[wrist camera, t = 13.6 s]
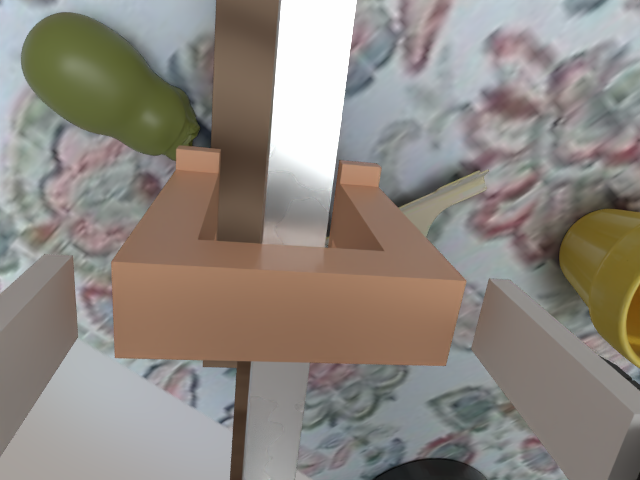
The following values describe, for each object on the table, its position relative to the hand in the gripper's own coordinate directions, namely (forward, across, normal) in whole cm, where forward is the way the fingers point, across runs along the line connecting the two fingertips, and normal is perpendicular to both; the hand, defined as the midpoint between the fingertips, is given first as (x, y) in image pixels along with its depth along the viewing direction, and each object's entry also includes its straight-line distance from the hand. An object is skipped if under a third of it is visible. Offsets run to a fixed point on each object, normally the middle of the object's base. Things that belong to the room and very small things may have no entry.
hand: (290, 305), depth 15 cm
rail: (+3, 0, 0) cm, 3 cm away
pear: (+19, +9, -4) cm, 22 cm away
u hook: (+11, 0, 0) cm, 11 cm away
